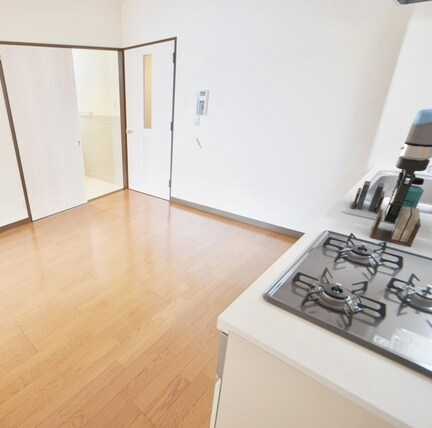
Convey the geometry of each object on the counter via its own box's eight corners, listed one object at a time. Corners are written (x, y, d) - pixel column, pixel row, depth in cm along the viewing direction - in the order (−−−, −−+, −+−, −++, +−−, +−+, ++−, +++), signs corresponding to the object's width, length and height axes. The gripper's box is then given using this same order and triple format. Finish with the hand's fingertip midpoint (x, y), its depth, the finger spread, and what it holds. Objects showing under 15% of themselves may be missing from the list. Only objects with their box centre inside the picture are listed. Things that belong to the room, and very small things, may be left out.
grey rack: (377, 209, 128) (388, 182, 123) (376, 216, 122) (387, 188, 117) (352, 205, 134) (361, 179, 128) (350, 211, 128) (359, 184, 122)
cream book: (391, 215, 107) (403, 188, 102) (391, 222, 101) (404, 194, 97) (384, 213, 108) (396, 187, 103) (384, 221, 103) (396, 193, 98)
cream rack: (409, 237, 106) (422, 208, 101) (410, 247, 100) (424, 217, 95) (371, 229, 113) (382, 201, 108) (370, 237, 107) (381, 209, 102)
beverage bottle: (383, 219, 119) (402, 174, 111) (404, 222, 116) (424, 176, 108) (389, 226, 114) (409, 179, 106) (411, 229, 111) (433, 181, 103)
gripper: (399, 150, 104) (377, 206, 114) (399, 162, 90) (374, 224, 100) (428, 152, 99) (402, 210, 109) (433, 166, 86) (403, 230, 95)
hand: (389, 217), depth 104 cm, fingers closed on cream book, 8 cm apart
